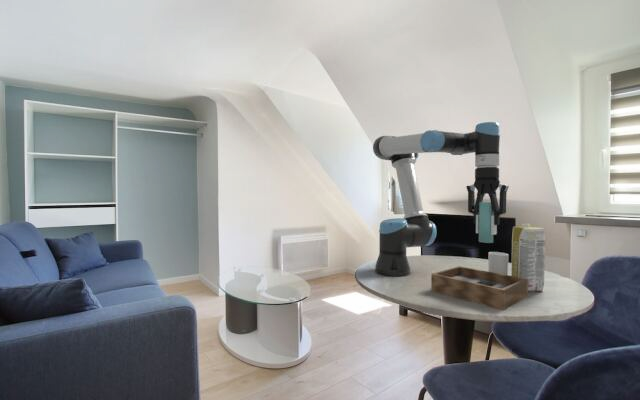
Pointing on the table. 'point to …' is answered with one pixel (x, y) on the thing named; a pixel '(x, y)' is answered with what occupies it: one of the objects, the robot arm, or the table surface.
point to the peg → (485, 222)
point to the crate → (480, 286)
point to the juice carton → (529, 255)
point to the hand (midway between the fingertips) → (486, 233)
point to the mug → (498, 263)
